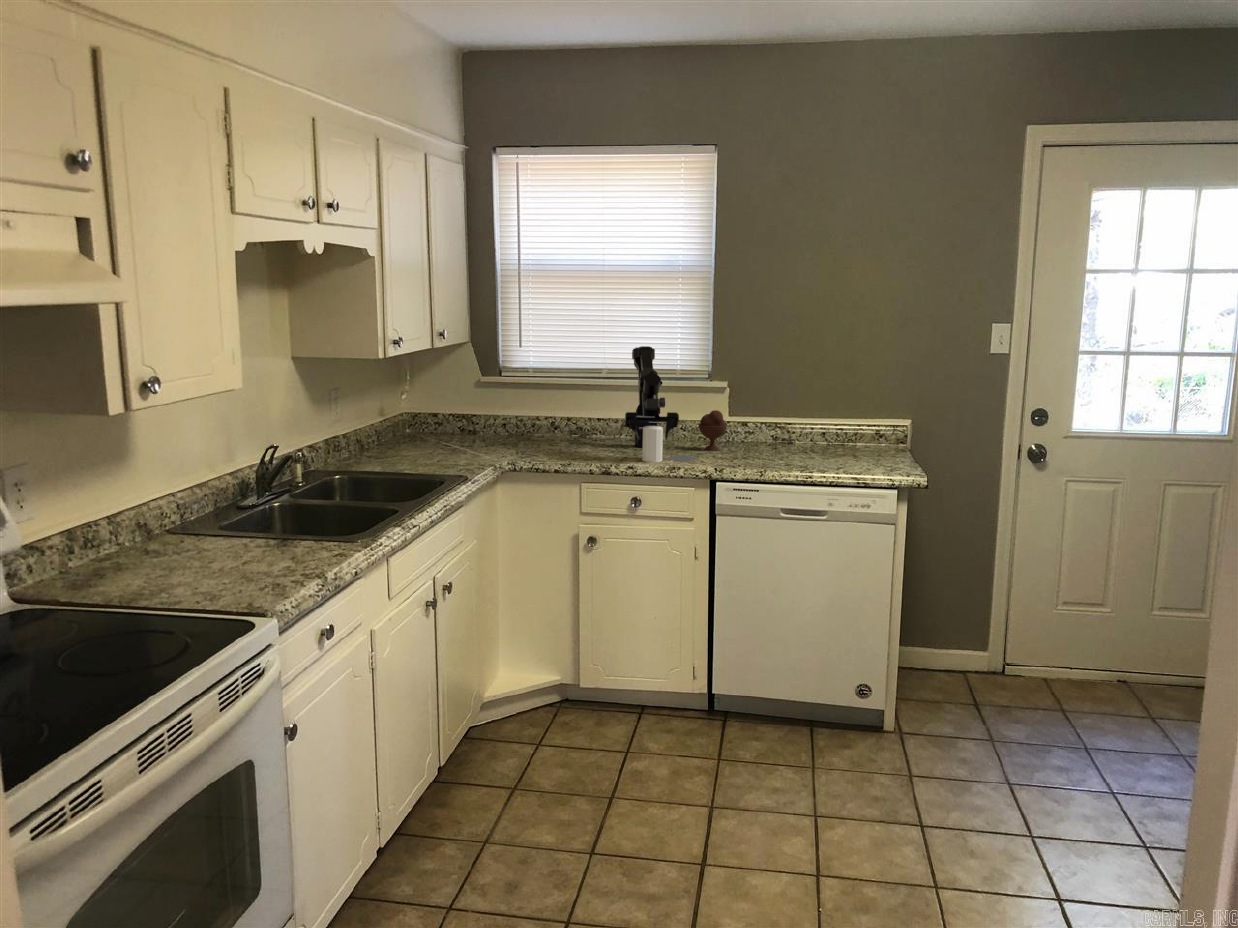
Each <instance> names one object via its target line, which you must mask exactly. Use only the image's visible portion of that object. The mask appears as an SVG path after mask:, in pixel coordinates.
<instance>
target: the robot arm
mask: <svg viewBox="0 0 1238 928" xmlns="http://www.w3.org/2000/svg"><path fill="white" fill-rule="evenodd" d="M655 352H656V349H655V348H653V346H652V347H651V346H648V345H647V346H643V345H642V346H639V347H635V348H633V349H632V350H631V360H633V366H634V367H635V369H636V370H637V375H638V376H637V377H638V379H637V380H638V381H637V386H638V405H637V407H636V409H635V411H626V412H625V414H624V427H625V428H628V429H629V430H632V431H633V433H634V444H632V447H635V446H636V447H637V448H643V427H644V426H658V423H662V424H664V423H665V432H664V440H665V441H667V440H668V437H669V434H670V432H671V430H674V428H677V427H678V425H679V420H680V415H679V412H677V411H676V412H675V411H673V412H672V411H669V412H668V411H667V413H666V416H661V415H660V414H661V409H663V408H665V407H666V398H665V397H659V392H660V387H661V386H662V385H663V381H662V380H661V377H660V376H659V374H658V372H657V371H656V370H654V364H653V362H654V360H655V359H656V356H655V355H656V354H655Z"/></svg>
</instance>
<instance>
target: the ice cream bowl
mask: <svg viewBox="0 0 1238 928" xmlns="http://www.w3.org/2000/svg"><path fill="white" fill-rule="evenodd" d="M727 428H728V424H726V421H725V420H724V415H723V413H722V412H721V410H714V409H713V410H712V411H710V412H709V413H707V414H703V416H702V417H701V419H700V423H698V429H699V432H700V434H702V435H703V436H704V437H705V438H707V439H708V440H709V445H707V446H706V447H705V448H704V450H705V451H710V452H713V451H714V452H715V451H717V452H718V451H720V448H719V447H718V446H716V444H715V440H717V439H719V438H721V437H722V436H723V435H724V434H726V431H727Z"/></svg>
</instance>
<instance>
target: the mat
mask: <svg viewBox="0 0 1238 928" xmlns="http://www.w3.org/2000/svg"><path fill="white" fill-rule="evenodd" d="M698 459H700V457H696V456H688V455H682V454H681V455H680V454H676V455H673V456H669V457H666V458H664V460H670V461H679V462H686V463H689V462H692V461H695V460H698Z"/></svg>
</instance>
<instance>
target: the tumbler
mask: <svg viewBox="0 0 1238 928" xmlns="http://www.w3.org/2000/svg"><path fill="white" fill-rule="evenodd" d="M642 428H643V447H642V451H641V452H642V454H641V455H642V458H641V460H642V461H643V462H646V463H647V462H648V463H658V462H659V463H660V462H663V442H664V440H663V437H664V427H663V426H659V425H657V426H644V427H642Z"/></svg>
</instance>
